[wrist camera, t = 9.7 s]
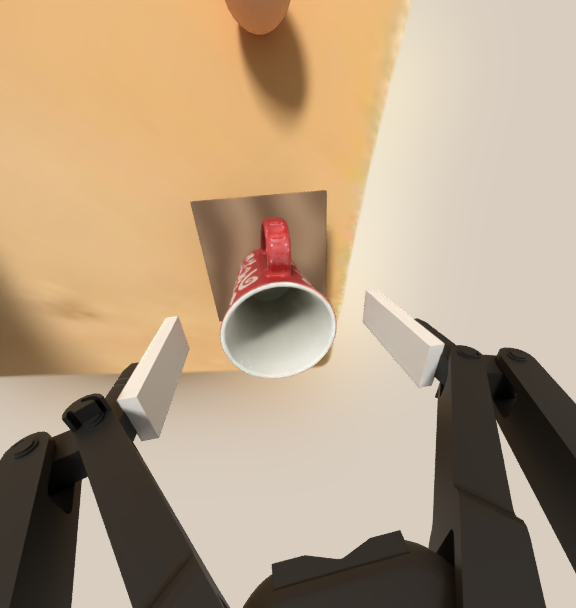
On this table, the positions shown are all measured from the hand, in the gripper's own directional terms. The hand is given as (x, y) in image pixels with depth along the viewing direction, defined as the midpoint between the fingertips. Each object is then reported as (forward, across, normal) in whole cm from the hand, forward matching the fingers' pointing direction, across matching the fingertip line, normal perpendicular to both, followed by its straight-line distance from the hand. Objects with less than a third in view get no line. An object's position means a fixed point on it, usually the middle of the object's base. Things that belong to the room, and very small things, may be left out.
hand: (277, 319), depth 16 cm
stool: (+22, +1, 0) cm, 22 cm away
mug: (+14, 0, 0) cm, 14 cm away
